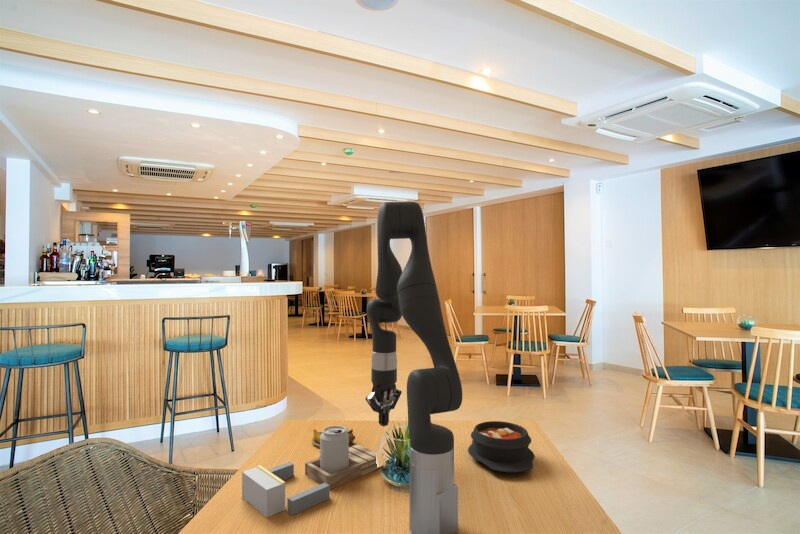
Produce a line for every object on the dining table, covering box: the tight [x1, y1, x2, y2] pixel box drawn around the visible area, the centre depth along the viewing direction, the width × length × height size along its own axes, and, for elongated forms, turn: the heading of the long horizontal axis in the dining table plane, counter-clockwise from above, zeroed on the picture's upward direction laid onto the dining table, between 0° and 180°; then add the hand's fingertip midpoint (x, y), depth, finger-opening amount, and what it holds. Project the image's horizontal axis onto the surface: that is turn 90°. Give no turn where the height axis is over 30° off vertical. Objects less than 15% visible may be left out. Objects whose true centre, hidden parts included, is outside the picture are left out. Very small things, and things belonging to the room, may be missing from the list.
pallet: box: [304, 443, 379, 490], centre depth 116 cm, size 11×18×3 cm, turn 135°
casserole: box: [467, 420, 535, 474], centre depth 124 cm, size 25×19×8 cm
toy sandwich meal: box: [311, 427, 356, 449], centre depth 136 cm, size 12×14×5 cm
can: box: [319, 425, 350, 474], centre depth 114 cm, size 8×8×12 cm
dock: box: [241, 461, 331, 519], centre depth 103 cm, size 18×14×6 cm
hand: (383, 425), depth 127 cm, fingers closed
